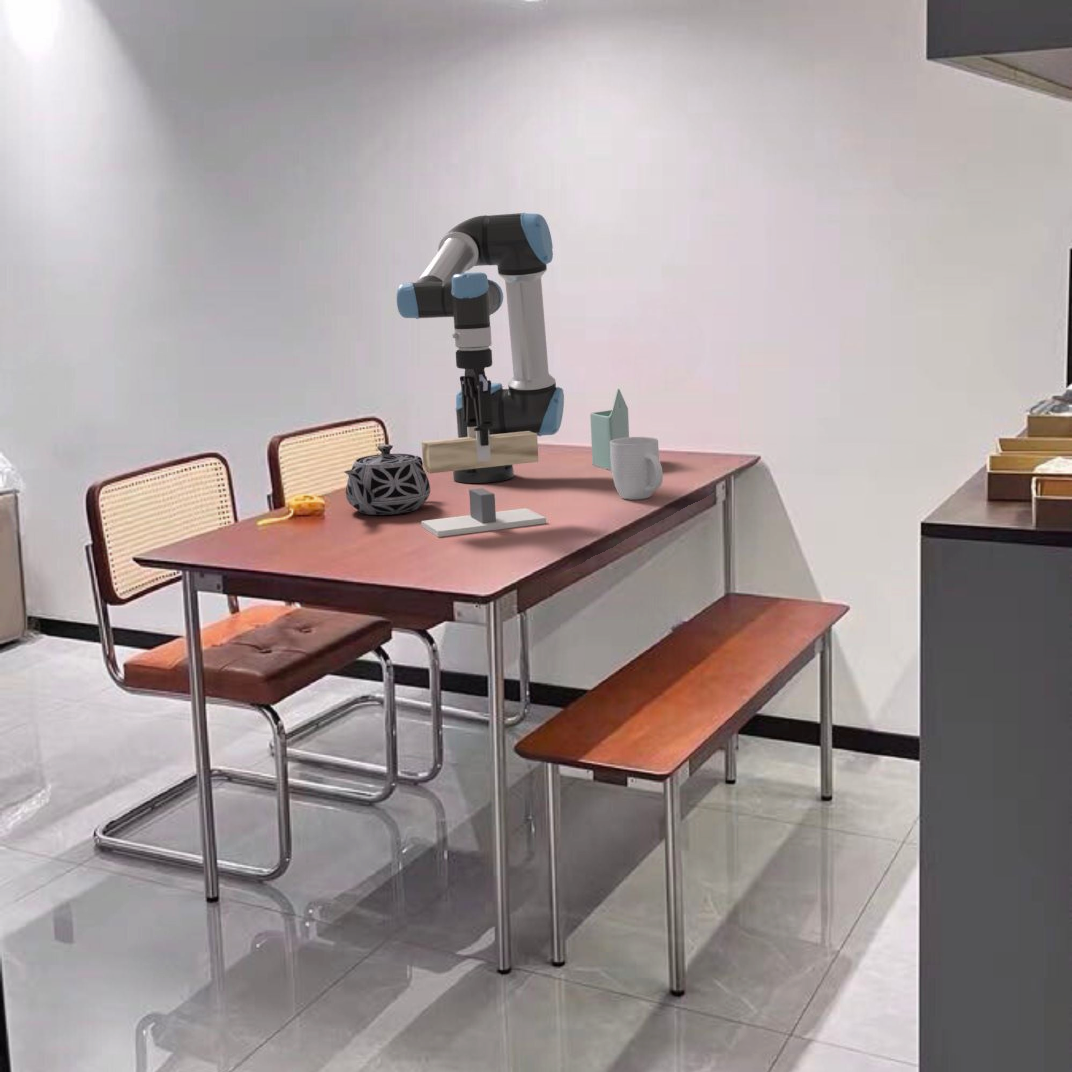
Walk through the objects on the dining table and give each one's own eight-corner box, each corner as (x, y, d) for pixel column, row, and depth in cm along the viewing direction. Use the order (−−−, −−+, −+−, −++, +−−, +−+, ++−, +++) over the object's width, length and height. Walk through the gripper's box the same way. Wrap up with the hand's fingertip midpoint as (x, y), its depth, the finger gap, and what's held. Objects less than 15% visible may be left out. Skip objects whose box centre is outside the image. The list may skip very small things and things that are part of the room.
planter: (601, 459, 388) (598, 384, 384) (630, 459, 385) (627, 384, 381) (583, 470, 373) (580, 393, 368) (613, 471, 370) (610, 392, 366)
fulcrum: (421, 526, 316) (419, 493, 314) (526, 513, 324) (524, 481, 322) (438, 537, 305) (435, 502, 303) (546, 523, 313) (544, 490, 311)
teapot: (313, 523, 326) (307, 456, 322) (388, 496, 352) (383, 434, 349) (385, 527, 317) (380, 458, 314) (457, 499, 344) (453, 436, 340)
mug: (680, 499, 331) (679, 441, 329) (641, 506, 326) (639, 448, 323) (640, 490, 344) (638, 435, 341) (602, 497, 338) (599, 441, 335)
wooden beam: (423, 470, 310) (421, 441, 309) (530, 458, 318) (528, 430, 317) (430, 473, 305) (428, 444, 304) (538, 461, 313) (537, 433, 312)
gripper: (443, 346, 313) (449, 455, 318) (469, 352, 297) (476, 466, 302) (476, 344, 316) (482, 451, 321) (504, 349, 299) (510, 463, 304)
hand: (479, 458), depth 311 cm, fingers closed on wooden beam, 5 cm apart
